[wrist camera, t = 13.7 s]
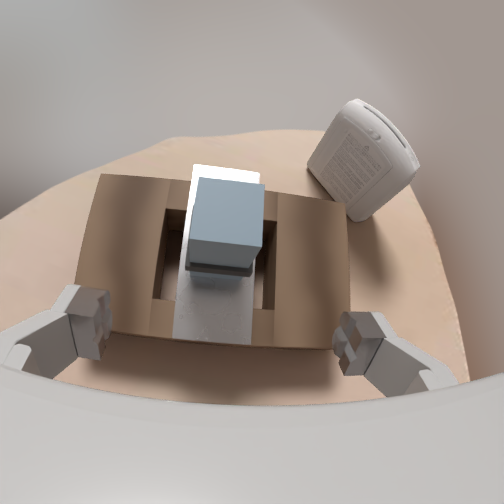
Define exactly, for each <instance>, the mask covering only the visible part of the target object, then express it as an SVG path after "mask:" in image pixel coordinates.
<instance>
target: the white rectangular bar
mask: <svg viewBox="0 0 504 504" xmlns="http://www.w3.org/2000/svg"><path fill="white" fill-rule="evenodd" d="M259 174H260V173H257V172H250V171H242V170H235V169H227V168H219V167H211V166H202V165H194V170H193V176H192V182H191V188H190V194H189V201H188V207H187V214H186V221H185V228H184V235H183V242H182V250H181V257H180V265H179V274H178V283H177V292H176V301H175V311H174V322H173V333H172V338H173V339H181V340H190V341H201V342H212V343H224V344H238V345H251V334H252V314H253V295H254V275H255V259H254V260H253V273H252V275H251V276H250V277H243V278H242V279H241V281H240V280H230V279H220V278H211V277H201V276H192V275H190V271H185V260H186V252H187V244H188V237H189V230H190V222H191V215H192V209H193V205H194V202H195V195H196V188H197V182H198V176H202V177H210V178H218V179H226V180H234V181H242V182H249V183H256V184H259Z"/></svg>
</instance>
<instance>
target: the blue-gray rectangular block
mask: <svg viewBox="0 0 504 504" xmlns="http://www.w3.org/2000/svg"><path fill="white" fill-rule="evenodd" d="M264 189H265V185H263V184H256V183H249V182H242V181H234V180H226V179H218V178H210V177H202V176H198V182H197V188H196V195H195V202H194V205H193V209H192V215H191V222H190V230H189V237H188V244H187V252H186V260H185V271H190V275H192V276H201V277H211V278H220V279H230V280H240V281H241V279H242V278H243V277H250V276H251V275H252V273H253V260H254V259H255V257H256V256H257V254H258V252H259V251H260V249H261V248H262V235H263V213H264Z"/></svg>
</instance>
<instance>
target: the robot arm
mask: <svg viewBox="0 0 504 504" xmlns="http://www.w3.org/2000/svg"><path fill="white" fill-rule="evenodd" d="M110 301H111V299H110V292H109V291H108V290H105V289H99V288H93V287H87V286H81V285H75V284H68V285H66V287H65V288H64V290H63V291H62V293H61V294H60V296H59V297H58V299H57V300H56V302H55V303H54V305H53V306H52V308H51V309H50V310H44V311H42V312H40V313H38V314H36V315H34V316H32V317H30V318H28V319H26V320H24V321H22V322H20V323H18V324H16V325H14V326H12V327H10V328H8V329H6V330H4V331H2V332H0V504H504V372H503V373H499V374H496V375H492V376H489V377H485V378H482V379H478V380H474V381H470V382H466V383H462V384H459V382H458V381H457V379H456V378H455V376H454V375H453V373H452V372H451V371H450V369H449V368H448V366H447V365H445V364H444V363H442V362H440V361H439V360H437V359H435V358H434V357H432V356H431V355H429V354H427V353H426V352H424V351H423V350H421V349H419V348H418V347H416V346H414V345H413V344H411V343H410V342H408V341H406V340H405V339H403V338H398V336H397V335H396V333H395V332H394V330H393V329H392V327H391V326H390V324H389V323H388V321H387V320H386V318H385V317H384V315H383V314H382V313H381V312H347V311H344V312H343V313H342V314H341V316H340V319H339V322H340V326H339V327H338V328H337V329H336V330H335V332H334V334H333V337H332V348H333V351H334V354H335V355H336V356H338V357H339V358H340V360H339V366H340V368H341V370H342V373H343V375H344V376H355V375H364V377H365V378H366V379H367V380H369V381H370V382H371V383H372V384H373V385H374V386H375V387H376V388H377V389H378V390H379V391H380V392H382V393H383V394H384V395H385V396H386V397H387V398H380V399H372V400H364V401H354V402H343V403H330V404H312V405H280V406H253V405H222V404H205V403H191V402H180V401H170V400H161V399H153V398H146V397H139V396H132V395H126V394H120V393H114V392H108V391H103V390H98V389H93V388H88V387H83V386H78V385H74V384H70V383H65V382H61V381H57V380H53V378H54V377H55V376H57V375H58V374H59V373H60V372H61V371H63V370H64V369H65V368H66V367H68V366H69V365H70V364H71V363H72V362H74V361H75V360H76V359H77V358H78V357H82V358H88V359H94V360H101V359H102V356H103V353H104V350H105V348H106V345H105V340H107V339H108V338H109V336H110V333H111V329H112V311H111V310H110V309H109V307H108V306H109V304H110Z"/></svg>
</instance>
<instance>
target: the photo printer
mask: <svg viewBox="0 0 504 504" xmlns="http://www.w3.org/2000/svg"><path fill="white" fill-rule="evenodd" d="M307 166H308V168H309V169H310V171H311V172H312V174H313V175H314V176H315V177H316V179H317V180H318V181H319V182H320V183H321V184H322V186H323V187H324V188H325V189H326V190H327V192H328V193H329V194H330V195H331V196H332V198H333V199H334V200H335V201H336V202H340V203H345V207H346V214H347V215H348V216H349V217H350V218H351V219H352V220H353V221H354V222H362V221H364V220H366V219H367V218H369V217H370V216H371V215H372V214H374V213H375V212H376V211H377V210H378V209H380V208H381V207H382V206H383V205H385V204H386V203H387V202H388V201H389V200H391V199H392V198H393V197H394V196H395V195H397V194H398V193H399V192H400V191H401V190H402V189H404V188H405V187H406V186H407V185H408V184H409V183H410V182H411V181H412V179H413V178H414V176H415V174H416V171H417V170H418V169H419V168H420V164H419V162H418V159H417V157H416V156H415V153H414V151H413V150H412V148H411V146H410V145H409V143H408V142H407V140H406V139H405V138H404V136H403V135H402V134H401V133H400V131H399V130H398V129H397V128H396V127H395V126H394V124H393V123H392V122H390V121H389V120H388V119H387V118H386V117H385V116H384V115H383V114H382V113H380V112H379V111H378V110H376V109H375V108H374V107H372V106H371V105H369V104H367V103H366V102H364V101H362V100H360V99H355V100H353V101H349V102H348V103H347V104H346V105H345V106H344V107H342V108H341V109H340V111H339V112H338V114H337V115H336V117H335V118H334V120H333V121H332V123H331V124H330V126H329V128H328V129H327V131H326V133H325V134H324V136H323V138H322V139H321V141H320V142H319V144H318V146H317V147H316V149H315V151H314V152H313V154H312V155H311V157H310V159H309V160H308V162H307Z"/></svg>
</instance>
